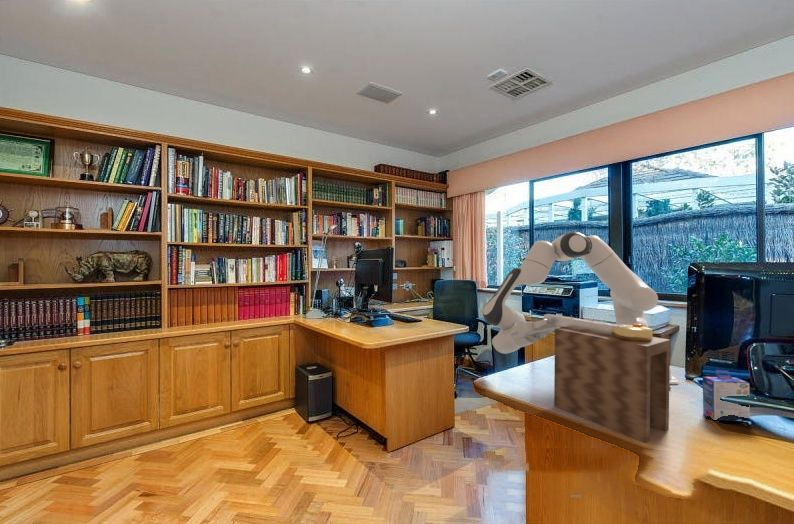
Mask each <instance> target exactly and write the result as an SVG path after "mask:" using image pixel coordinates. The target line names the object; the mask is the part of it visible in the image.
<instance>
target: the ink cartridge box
mask: <svg viewBox="0 0 794 524" xmlns="http://www.w3.org/2000/svg"><path fill="white" fill-rule="evenodd" d="M721 373H724V374H721ZM715 374H716V376H702V405H703V406H702V408H703V409H702V413H703V414H702V415H704V416H705V415H706V417H707V416H710V417H711V418H712V419H713V420H717V419H718V418H720V417H722V416H728V415H735V416H738V417H744V418H750V416H751V415H750V413H751V412H750V406H749V407H746V406H741V405H738V404H734V403H730V402H726V401H722V400H720V397H721V398H722V397H727V396H747V395H749V396H750V382H748V381H746V380H743V379H741V378H738V377H732V376H731V374H730V372H729V370H721V369H720V370H719V369H715ZM726 374H727V375H726ZM712 419H711V420H712ZM713 420H712V421H713Z"/></svg>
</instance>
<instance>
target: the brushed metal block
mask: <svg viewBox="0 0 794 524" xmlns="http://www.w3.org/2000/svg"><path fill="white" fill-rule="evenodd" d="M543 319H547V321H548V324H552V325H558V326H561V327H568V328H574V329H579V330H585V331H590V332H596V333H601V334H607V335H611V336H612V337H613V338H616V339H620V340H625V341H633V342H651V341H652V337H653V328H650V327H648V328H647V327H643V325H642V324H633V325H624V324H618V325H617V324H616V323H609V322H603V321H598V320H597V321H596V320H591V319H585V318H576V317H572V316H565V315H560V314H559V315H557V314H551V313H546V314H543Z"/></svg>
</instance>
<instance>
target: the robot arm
mask: <svg viewBox="0 0 794 524" xmlns="http://www.w3.org/2000/svg"><path fill="white" fill-rule="evenodd" d="M576 258H577V259H578V258H580V259H582V261H584V262H585V264H586V266H588V267H589V269H590V270H591V271H592V272H593V273H594V274H595V276H596V277H597V278H598V279H599V280H600V281H601V283H603V284H604V285H605V286H606V287H607V288H608V289H610V292H609V295H610V297H611V300H612V306H613V310H614V316H615V324H617V325H618V324H624V325H633V324H642V325H643V327H647V328H649V324H648V321H647V319H646V316H645V312H647V311H651V310H653V309H654V308H655V307H656V306H657V304H658V302H659V296H658V294H657V292H656V290H654V289H653V288H652V287H650V286H649V285H648V284H647V283H645V282H644V281H643V279H641V278H640V277H639V276H638V275H637V274H636V273H635V272H634V271H632V270H631V269H630V268H629V267H628V266H627V265H626V264H625V263H624V261H623V260H622V259H621V258H620V257H619V256H618V254H617V253H615V251H614V250H613V249H612V248H611V247H610V246H609V245H608V244H607V243H606V242H605V241H604V240H603V239H602V238H601V237H599V236H598V235H594V234H593V235H587V236H586V235H585V234H583V233H581V232H577V231H570V232H567V233H564V234H562V235H560V236H558V237H557V238H555V239H553V240H551V241H550V242H549V241H547V240H538V241H535V242H534V243H533V244H532V246H531V247H530V249H529V250H528V252H527V254H526V255H525V258H524V260H523V262H522V263H521V264H520V266H518V267H516V268H513V269H512V270H511V271H510V272H508V274H507V276H506V277H505V278H504V280H503V281H502V282H501V284H500V285H499V287H498V288H497V290H496V292H495V293H494V294H493V296H492V297H491V299H490V300H489V301H488V302H487V303H485V305H484V306H483V309H482V317H483V320H484V322H485V323H486V324H488V325H491V326H493V327H496V328H498V329H499V331H498V333H497V334H496V335H495V336H494V337H493V338H492V340H491V342H492V343H491V344H492V346H493V348H494V349H495V350H496V351H497V352H498V353H501V354H510V353H513V352H516V351H518V350H520V349H521V348H524V347H527V346H530V345H533V344H534V343H536V342H538V341H539V340H542V339H545V338H547V337H546V336H547V335H549V334H551V333H553V332H555V328H561V327H562V326H558V325H552V324H548V321H547V319H544V318H543V319H540V320H536V321H535V320H534V321H528V320H527V319H526V316H525V315H524V314H523V313H521V312H520V311H517V310H515V309H513V308H512V307H510V306H507V305H506V301H507V300H508V298H509V297H510V296H511V293H513V291H514V290H515V288H516V287H517V286H520V285H526V286H537V285H540V284H542V283H544V282H545V280H546V279H547V278H548V276H549V273H550V272H551V269H552V267H553V264H554V263H555V262H557V263H565V262H570V261H573V260H575V259H576ZM678 384H679V380H678V378H676V377H675V376H673V375H672V371H671V369H670V370H669V385H678Z"/></svg>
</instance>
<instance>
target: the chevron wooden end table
mask: <svg viewBox="0 0 794 524" xmlns="http://www.w3.org/2000/svg"><path fill="white" fill-rule="evenodd" d="M670 347H671V339H667V338H661V337H657V336H656V337H655V336H652V341H651V342H633V341H625V340H620V339H616V338H613V337H612V336H611V335H607V334H601V333H596V332H590V331H585V330H579V329H574V328H568V327H563V326H561V327H560V328H555V331H554V376H553V377H554V379H553V380H554V382H553V383H554V385H553V387H554V390H553V394H554V396H553V397H554V402H553V405H554V407H555V408H558V409H560V410H562V411H566V412H568V413H570V414H572V415H576V416H578V417H581V418H583V419H585V420H587V421H591V422H593V423H595V424H598V425H600V426H603V427H606V428H608V429H611V430H612V431H615V432H618V433H621V434H623V435H625V436H627V437H630V438H633V439H635V440H639V441H640V442H644V443H645V444H646V443H649V442H650V441H651V439H650V437H651V436H650V428H651V427H650V426H652V427H654V428H657V429H659V430H662V431H665V432H666V431H668V430H669V424H670V422H669V421H670V391H669V385H670V384H669V370H670V371H671V368H670V367H671V366H670V362H671V361H670V357H671V356H670V355H671V353H670V352H671V348H670Z"/></svg>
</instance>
